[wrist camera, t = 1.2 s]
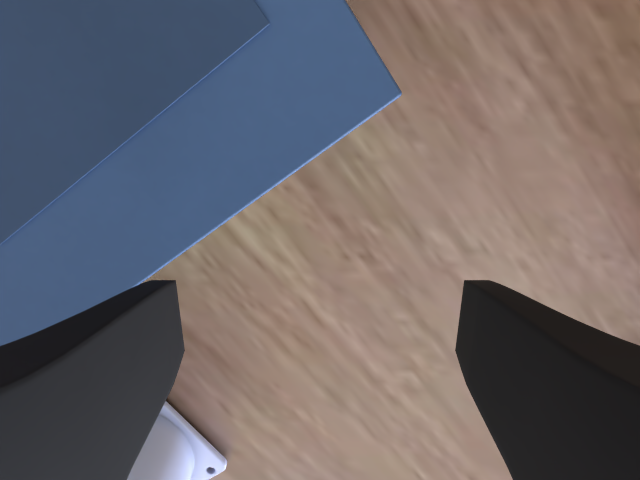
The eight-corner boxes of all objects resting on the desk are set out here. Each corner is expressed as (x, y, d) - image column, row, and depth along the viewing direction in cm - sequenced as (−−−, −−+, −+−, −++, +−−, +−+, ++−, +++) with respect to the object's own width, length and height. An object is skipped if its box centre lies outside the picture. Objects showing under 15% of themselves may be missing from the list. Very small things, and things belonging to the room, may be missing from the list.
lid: (14, 367, 16) (-20, 399, 14) (-326, 71, 12) (-420, 69, 11) (393, 92, 13) (404, 94, 11) (76, -420, 9) (23, -526, 8)
